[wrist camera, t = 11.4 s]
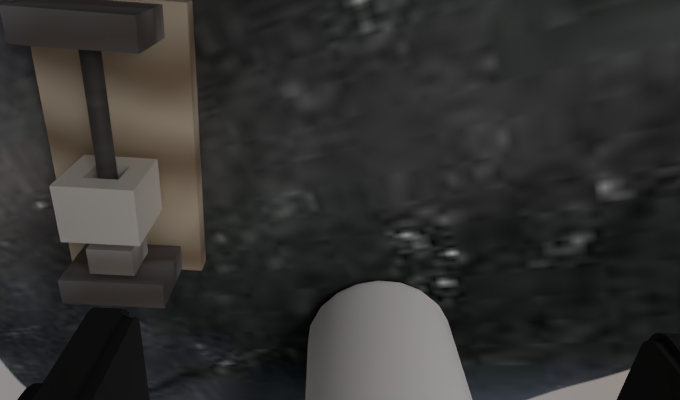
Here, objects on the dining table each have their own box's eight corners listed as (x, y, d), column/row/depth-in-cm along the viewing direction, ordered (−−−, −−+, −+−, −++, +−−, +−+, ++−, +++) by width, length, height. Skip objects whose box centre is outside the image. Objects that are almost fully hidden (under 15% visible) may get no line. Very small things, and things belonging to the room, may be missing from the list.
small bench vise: (32, -13, 32) (-33, -2, 27) (192, 0, 33) (163, 13, 27) (80, 253, 41) (40, 304, 36) (205, 259, 42) (186, 311, 36)
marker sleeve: (84, 154, 35) (49, 185, 31) (157, 158, 36) (133, 190, 31) (92, 205, 37) (60, 242, 33) (162, 209, 37) (140, 246, 33)
